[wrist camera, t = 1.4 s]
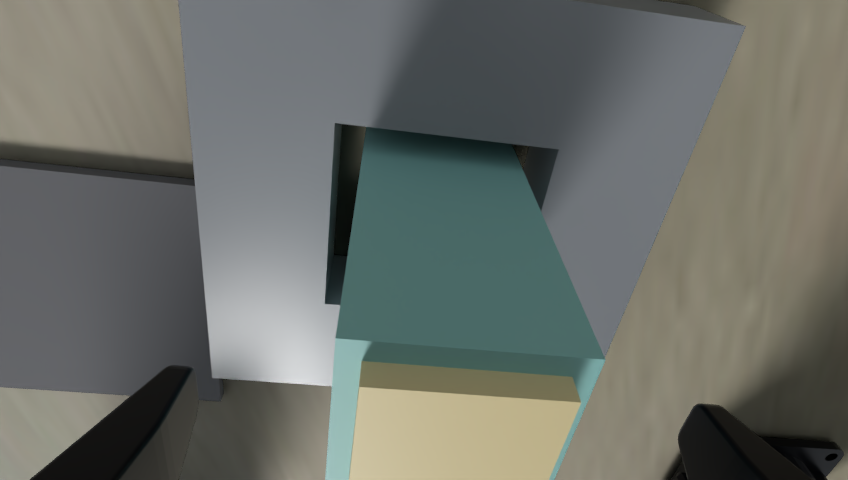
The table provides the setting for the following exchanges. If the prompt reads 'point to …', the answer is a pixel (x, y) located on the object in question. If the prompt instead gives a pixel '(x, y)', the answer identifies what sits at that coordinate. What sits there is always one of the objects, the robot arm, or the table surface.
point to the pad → (99, 280)
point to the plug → (454, 321)
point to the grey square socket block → (438, 115)
